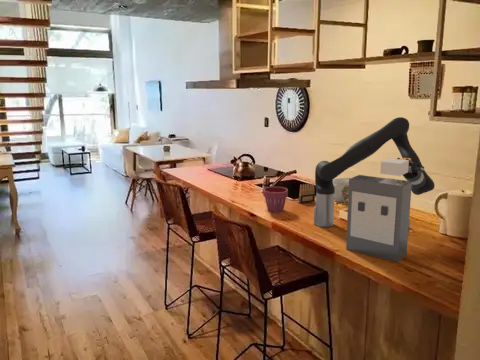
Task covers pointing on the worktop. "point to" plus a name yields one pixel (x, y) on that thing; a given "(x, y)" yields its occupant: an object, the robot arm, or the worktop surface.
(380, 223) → the box
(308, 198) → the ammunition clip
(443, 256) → the worktop surface
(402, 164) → the block
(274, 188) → the plant pot
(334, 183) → the pitcher
